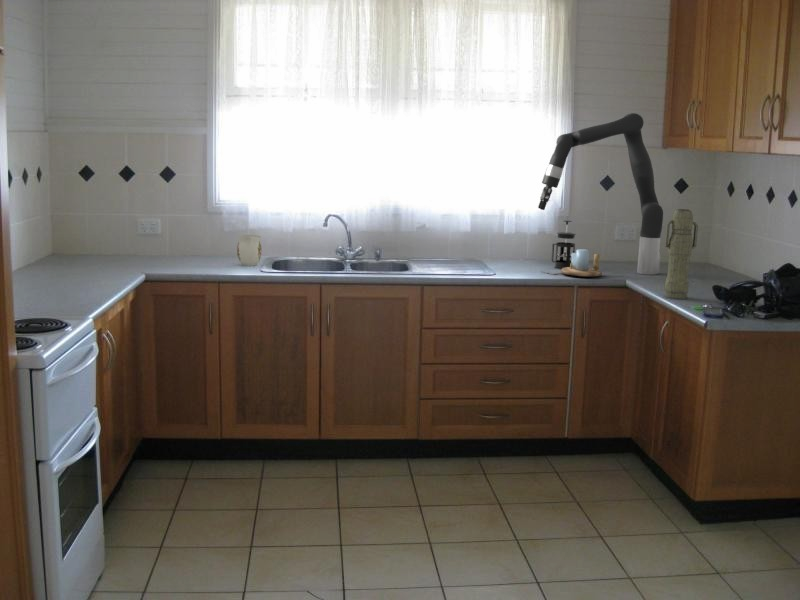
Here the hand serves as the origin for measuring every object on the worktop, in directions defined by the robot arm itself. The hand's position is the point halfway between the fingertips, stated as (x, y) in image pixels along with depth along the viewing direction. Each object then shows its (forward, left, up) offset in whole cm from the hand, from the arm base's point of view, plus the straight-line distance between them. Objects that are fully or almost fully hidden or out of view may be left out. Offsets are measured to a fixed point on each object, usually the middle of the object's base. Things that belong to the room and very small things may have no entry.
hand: (541, 209), depth 410 cm
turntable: (-8, +23, -27) cm, 37 cm away
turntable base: (-8, +23, -28) cm, 38 cm away
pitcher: (+127, -45, -29) cm, 138 cm away
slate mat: (-1, +13, -28) cm, 31 cm away
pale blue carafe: (-8, +21, -26) cm, 34 cm away
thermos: (-11, +81, -29) cm, 86 cm away
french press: (-14, +1, -29) cm, 32 cm away
